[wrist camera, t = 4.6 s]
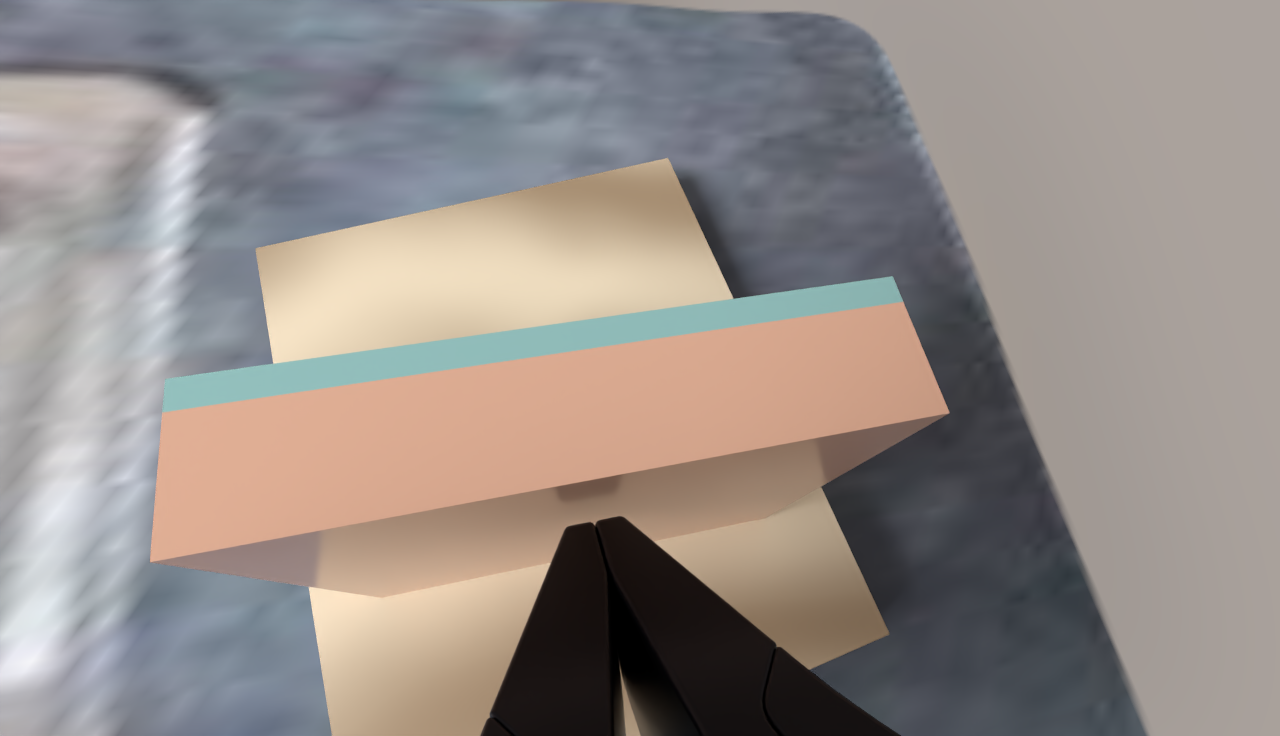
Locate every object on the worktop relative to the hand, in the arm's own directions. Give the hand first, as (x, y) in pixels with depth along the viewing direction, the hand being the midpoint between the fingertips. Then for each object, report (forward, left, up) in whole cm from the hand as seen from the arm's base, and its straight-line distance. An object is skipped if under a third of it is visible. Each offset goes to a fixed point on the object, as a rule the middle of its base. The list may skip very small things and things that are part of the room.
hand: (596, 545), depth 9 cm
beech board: (+4, 0, -7) cm, 8 cm away
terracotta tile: (+1, 0, -6) cm, 6 cm away
